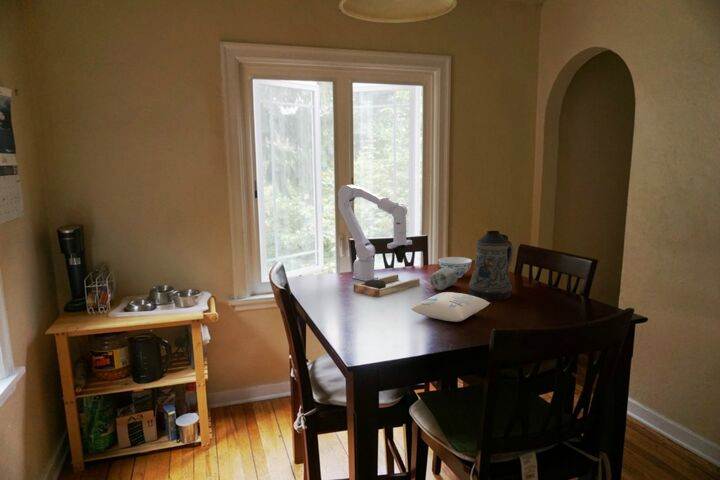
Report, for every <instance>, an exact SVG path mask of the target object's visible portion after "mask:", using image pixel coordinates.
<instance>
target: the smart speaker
mask: <svg viewBox="0 0 720 480" xmlns="http://www.w3.org/2000/svg"><path fill="white" fill-rule="evenodd" d="M363 283H364V282H363ZM364 285H365V286H369V287H373V288H378V289H381V288H385V287H387V286H386V285H387V283H385V282H384V281H381V280H375V279H373V280H369V281H365V283H364Z"/></svg>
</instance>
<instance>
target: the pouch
mask: <svg viewBox="0 0 720 480" xmlns="http://www.w3.org/2000/svg"><path fill="white" fill-rule="evenodd" d="M489 304H490V305H491V302H489V301H487V300H486V299H481V298H479V297H475V296H472V295H471V294H466V293H462V292H461V293H459V292H453V291H451V292H450V291H446V292H445V291H444V292H440V293H437V294H435V295H433V296H431V297H428V298H426V299H425V300H422V301H421V302H418V303H417V304H416V305H414V306H413V307H412V308H410V310H411V311H413V312H414V313H416V314H418V315H421V316H426V317H427V318H432V319H436V320H441V321H446V322H455V323H457V322H462V321H464V320H466V319H467V318H469V317H471V316H473V315H475V314H476V313H478V312H480V311H481V310H483V309H485V308H486V307H487V306H489Z"/></svg>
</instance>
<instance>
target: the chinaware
mask: <svg viewBox="0 0 720 480" xmlns="http://www.w3.org/2000/svg"><path fill="white" fill-rule="evenodd" d="M472 262H473V261H472V259H470V258H469V257H463V256H462V257H461V256H448V257H447V256H445V257H440V258H438V265H439V267H440V269H443V268H451V269H453V270H454V271H455V272H456V275H457V279H460V278H463V275H465V274H466V273H468V271H469V270H470V268H471V266H472Z"/></svg>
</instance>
